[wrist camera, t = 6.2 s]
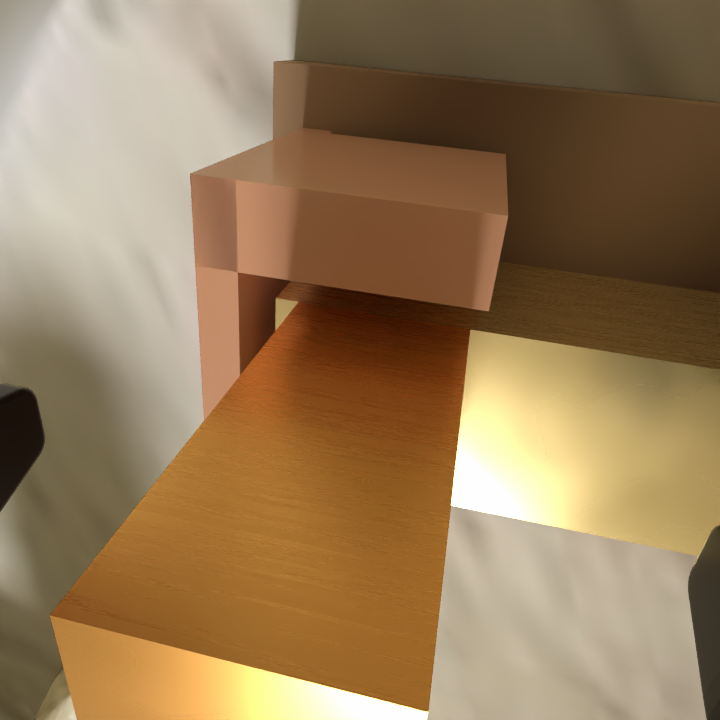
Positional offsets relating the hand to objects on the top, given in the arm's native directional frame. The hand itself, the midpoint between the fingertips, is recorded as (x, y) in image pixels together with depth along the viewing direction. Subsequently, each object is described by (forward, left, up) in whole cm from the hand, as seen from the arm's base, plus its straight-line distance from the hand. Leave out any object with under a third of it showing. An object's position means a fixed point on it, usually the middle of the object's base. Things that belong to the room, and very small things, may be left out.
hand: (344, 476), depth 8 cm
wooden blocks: (-5, 0, -5) cm, 7 cm away
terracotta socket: (+1, 0, -6) cm, 6 cm away
